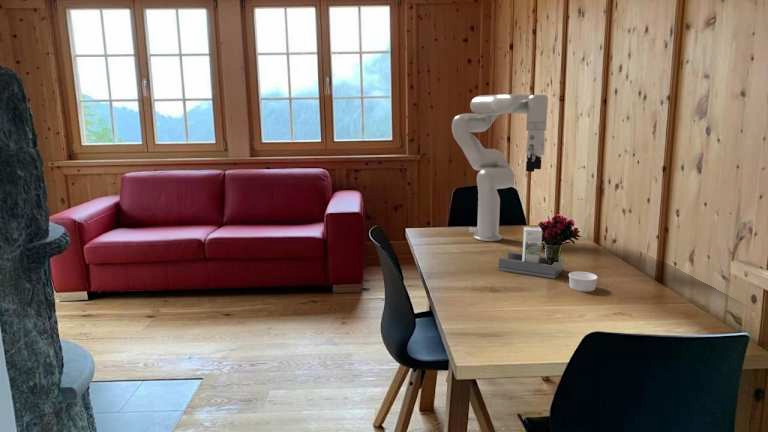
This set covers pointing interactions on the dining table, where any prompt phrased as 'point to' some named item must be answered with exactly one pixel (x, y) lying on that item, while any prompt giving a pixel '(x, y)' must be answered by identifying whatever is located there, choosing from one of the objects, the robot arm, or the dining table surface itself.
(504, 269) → the track
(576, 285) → the ramekin
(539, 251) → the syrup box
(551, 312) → the dining table surface
